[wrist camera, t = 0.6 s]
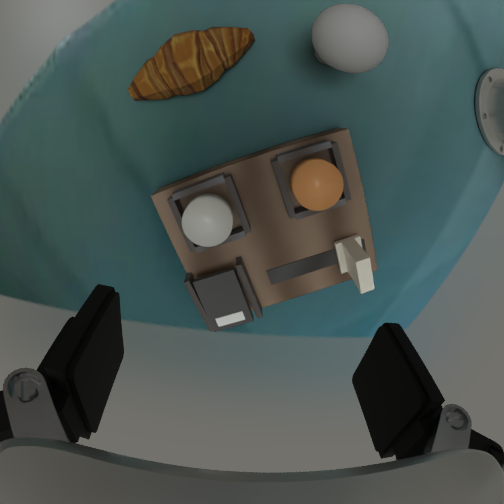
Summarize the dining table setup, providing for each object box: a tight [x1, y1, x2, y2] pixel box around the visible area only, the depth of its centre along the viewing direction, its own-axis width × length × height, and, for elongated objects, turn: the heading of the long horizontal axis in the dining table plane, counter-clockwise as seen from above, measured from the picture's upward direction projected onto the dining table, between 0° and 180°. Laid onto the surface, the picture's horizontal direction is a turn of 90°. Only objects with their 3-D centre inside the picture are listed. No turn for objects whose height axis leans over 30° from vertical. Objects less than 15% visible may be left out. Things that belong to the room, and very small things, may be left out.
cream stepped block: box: [334, 234, 374, 294], centre depth 29 cm, size 3×4×5 cm
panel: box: [151, 128, 377, 331], centre depth 31 cm, size 20×16×5 cm
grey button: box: [182, 193, 233, 247], centre depth 27 cm, size 4×4×2 cm
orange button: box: [290, 157, 344, 211], centre depth 26 cm, size 4×4×2 cm
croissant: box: [128, 27, 255, 100], centre depth 24 cm, size 14×7×5 cm, turn 115°
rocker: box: [193, 267, 253, 332], centre depth 31 cm, size 4×6×1 cm
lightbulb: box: [312, 4, 389, 73], centre depth 20 cm, size 6×6×11 cm
